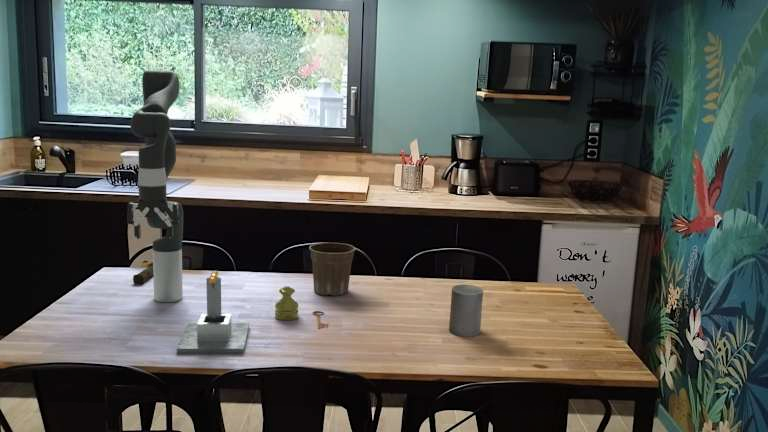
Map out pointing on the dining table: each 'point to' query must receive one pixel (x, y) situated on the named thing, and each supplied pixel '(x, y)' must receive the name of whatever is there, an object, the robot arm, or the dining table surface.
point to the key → (319, 319)
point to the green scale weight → (286, 305)
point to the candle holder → (214, 337)
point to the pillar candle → (466, 310)
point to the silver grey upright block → (214, 298)
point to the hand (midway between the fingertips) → (153, 238)
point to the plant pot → (331, 267)
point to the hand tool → (143, 275)
